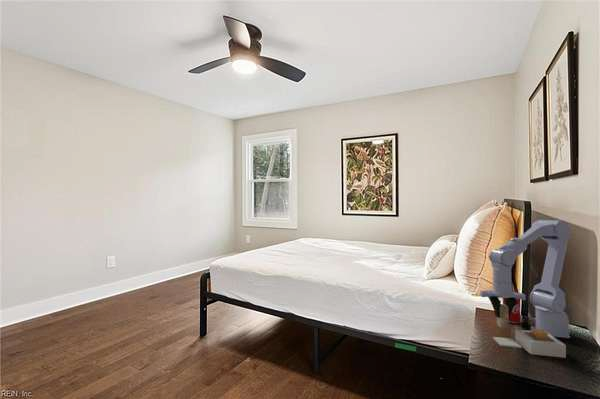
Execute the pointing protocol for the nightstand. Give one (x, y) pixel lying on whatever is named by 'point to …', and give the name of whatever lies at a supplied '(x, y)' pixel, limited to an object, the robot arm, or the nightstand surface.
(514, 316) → the beverage can
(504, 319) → the wooden building block
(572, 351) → the nightstand surface
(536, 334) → the button
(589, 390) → the nightstand surface
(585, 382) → the nightstand surface
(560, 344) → the guard housing
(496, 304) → the robot arm
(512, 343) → the pad
